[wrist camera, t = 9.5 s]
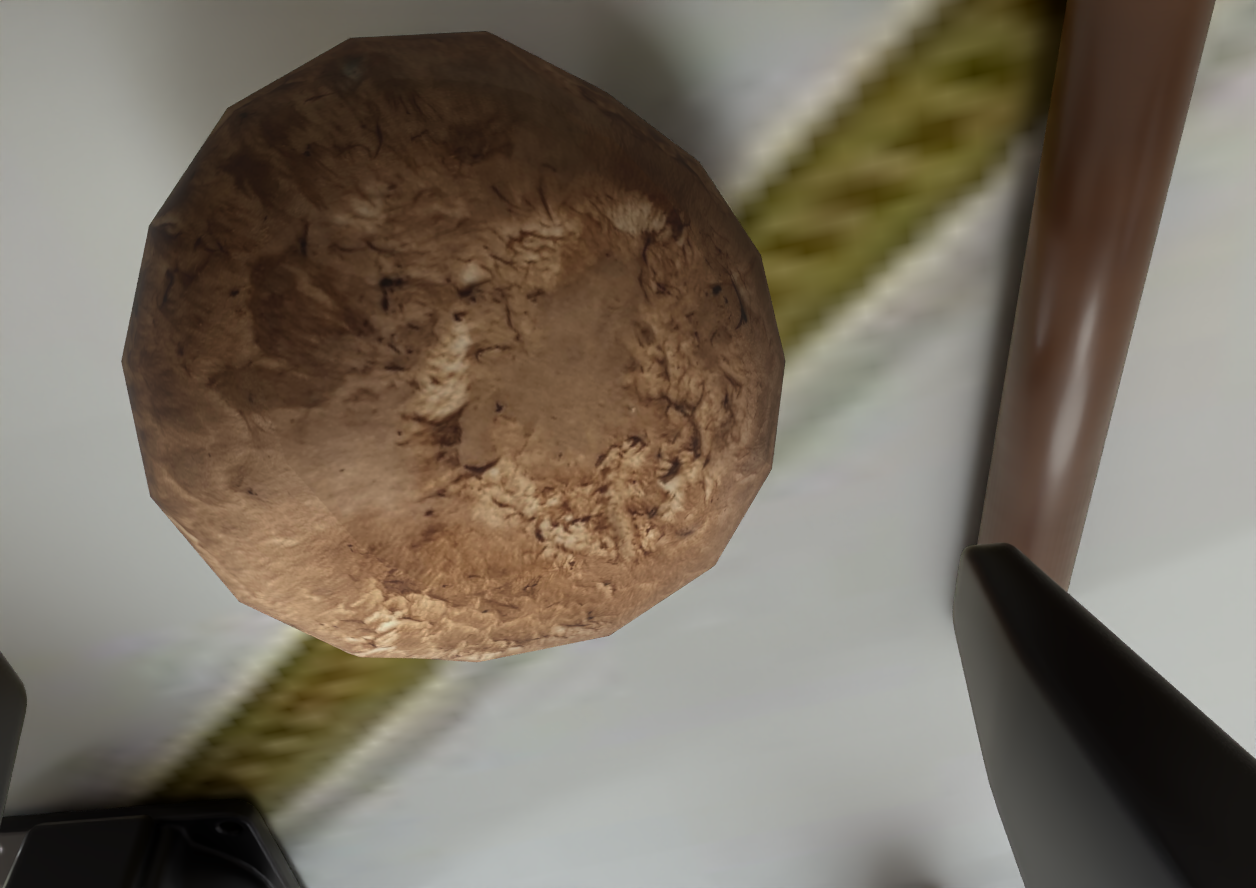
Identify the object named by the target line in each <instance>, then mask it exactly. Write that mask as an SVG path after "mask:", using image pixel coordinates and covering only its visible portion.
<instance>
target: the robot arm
mask: <svg viewBox="0 0 1256 888" xmlns="http://www.w3.org/2000/svg"><path fill="white" fill-rule="evenodd" d="M953 623H954V630H955V635H956V640H957V644H958V648H959V653H960V657H961V662H962V666H963V671H964V675H965V680H966V684H967V689H968V693H969V697H970V702H971V706H972V711H973V715H974V720H975V724H976V729H977V733H978V737H979V742H980V746H981V751H982V755H983V760H984V764H985V768H986V772H987V776H988V780H989V784H990V787H991V790H992V793H993V796H994V800H995V803H996V806H997V809H998V812H999V815H1000V817H1001V820H1002V823H1003V826H1004V829H1005V832H1006V834H1007V837H1008V840H1009V843H1010V846H1011V849H1012V851H1013V854H1014V857H1015V860H1016V863H1017V866H1018V868H1019V871H1020V874H1021V877H1022V880H1023V882H1024V885H1025V888H1256V759H1255V758H1254V757H1253V756H1252V755H1250V754H1249V753H1248V752H1247V751H1246V750H1245V749H1244V748H1242V747H1241V746H1240V745H1239V744H1238V743H1237V742H1236V741H1235V740H1233V739H1232V738H1231V737H1230V736H1229V735H1228V734H1227V733H1226V732H1224V731H1223V730H1222V729H1221V728H1220V727H1219V726H1218V725H1217V724H1215V723H1214V722H1213V721H1212V720H1211V719H1210V718H1209V717H1207V716H1206V715H1205V714H1204V713H1203V712H1202V711H1201V710H1200V709H1198V708H1197V707H1196V706H1195V705H1194V704H1193V703H1192V702H1191V701H1189V700H1188V699H1187V698H1186V697H1185V696H1184V695H1183V694H1181V693H1180V692H1179V691H1178V690H1177V689H1176V688H1175V687H1174V686H1172V685H1171V684H1170V683H1169V682H1168V681H1167V680H1166V679H1165V678H1163V677H1162V676H1161V675H1160V674H1159V673H1158V672H1157V671H1155V670H1154V669H1153V668H1152V667H1151V666H1150V665H1149V664H1148V663H1146V662H1145V661H1144V660H1143V659H1142V658H1141V657H1140V656H1139V655H1137V654H1136V653H1135V652H1134V651H1133V650H1132V649H1131V648H1130V647H1128V646H1127V645H1126V644H1125V643H1124V642H1123V641H1122V640H1120V639H1119V638H1118V637H1117V636H1116V635H1115V634H1114V633H1113V632H1111V631H1110V630H1109V629H1108V628H1107V627H1106V626H1105V625H1104V624H1102V623H1101V622H1100V621H1099V620H1098V619H1097V618H1096V617H1094V616H1093V615H1092V614H1091V613H1090V612H1089V611H1088V610H1087V609H1085V608H1084V607H1083V606H1082V605H1081V604H1080V603H1079V602H1078V601H1076V600H1075V599H1074V598H1073V597H1072V596H1071V595H1070V594H1068V593H1067V592H1066V591H1065V590H1064V589H1063V588H1062V587H1061V586H1059V585H1058V584H1057V583H1056V582H1055V581H1054V580H1053V579H1052V578H1050V577H1049V576H1048V575H1047V574H1046V573H1045V572H1044V571H1043V570H1041V569H1040V568H1039V567H1038V566H1037V565H1036V564H1035V563H1033V562H1032V561H1031V560H1030V559H1029V558H1028V557H1027V556H1026V555H1024V554H1023V553H1022V552H1021V551H1020V550H1019V549H1018V548H1016V547H1015V546H1013V545H1011V544H1009V543H992V544H980V545H970V546H968V547H966V548H965V549H964V550H963V552H962V554H961V557H960V563H959V569H958V576H957V583H956V589H955V596H954V602H953ZM26 706H27V697H26V690H25V687H24V684H23V682H22V681H21V679H20V678H19V676H18V675H17V673H16V672H15V671H14V669H13V668H12V666H11V665H10V664H9V662H8V661H7V660H6V658H5V657H4V655H3V654H2V653H1V651H0V888H301V887H300V885H299V883H298V882H297V880H296V878H295V876H294V874H293V873H292V871H291V869H290V867H289V866H288V864H287V862H286V860H285V858H284V857H283V855H282V853H281V851H280V849H279V848H278V846H277V844H276V842H275V841H274V839H273V837H272V835H271V833H270V832H269V830H268V828H267V826H266V824H265V823H264V821H263V819H262V817H261V816H260V814H259V812H258V810H257V809H256V808H255V807H254V806H253V805H251V804H249V803H247V802H245V801H241V800H235V799H225V800H212V801H200V802H187V803H175V804H162V805H149V806H137V807H124V808H112V809H99V810H86V811H74V812H61V813H48V814H36V815H23V816H11V817H2V816H3V812H4V807H5V803H6V798H7V794H8V789H9V785H10V780H11V776H12V771H13V767H14V762H15V758H16V753H17V749H18V745H19V740H20V736H21V731H22V727H23V722H24V718H25V713H26Z"/></svg>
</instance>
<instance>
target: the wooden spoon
mask: <svg viewBox="0 0 1256 888" xmlns="http://www.w3.org/2000/svg"><path fill="white" fill-rule="evenodd" d="M1215 1H1216V0H1067V4H1066V10H1065V16H1064V22H1063V28H1062V34H1061V40H1060V47H1059V53H1058V59H1057V65H1056V71H1055V77H1054V83H1053V89H1052V95H1051V101H1050V107H1049V113H1048V119H1047V125H1046V131H1045V137H1044V143H1043V149H1042V156H1041V162H1040V168H1039V174H1038V180H1037V186H1036V192H1035V198H1034V204H1033V210H1032V216H1031V222H1030V228H1029V234H1028V240H1027V246H1026V252H1025V258H1024V265H1023V271H1022V277H1021V283H1020V289H1019V295H1018V301H1017V307H1016V313H1015V319H1014V325H1013V331H1012V337H1011V343H1010V349H1009V355H1008V361H1007V367H1006V373H1005V380H1004V386H1003V392H1002V398H1001V404H1000V410H999V416H998V422H997V428H996V434H995V440H994V446H993V452H992V458H991V464H990V470H989V476H988V482H987V489H986V495H985V501H984V507H983V513H982V519H981V525H980V531H979V537H978V543H977V545H980V544H992V543H1009V544H1011V545H1013V546H1015V547H1016V548H1018V549H1019V550H1020V551H1021V552H1022V553H1023V554H1024V555H1026V556H1027V557H1028V558H1029V559H1030V560H1031V561H1032V562H1033V563H1035V564H1036V565H1037V566H1038V567H1039V568H1040V569H1041V570H1043V571H1044V572H1045V573H1046V574H1047V575H1048V576H1049V577H1050V578H1052V579H1053V580H1054V581H1055V582H1056V583H1057V584H1058V585H1059V586H1061V587H1062V588H1063V589H1064V590H1065V591H1066V592H1068V588H1069V584H1070V580H1071V576H1072V572H1073V568H1074V564H1075V560H1076V556H1077V552H1078V548H1079V544H1080V540H1081V536H1082V532H1083V528H1084V524H1085V520H1086V516H1087V512H1088V508H1089V504H1090V500H1091V496H1092V492H1093V488H1094V484H1095V480H1096V476H1097V472H1098V468H1099V464H1100V460H1101V456H1102V452H1103V448H1104V444H1105V440H1106V436H1107V432H1108V428H1109V424H1110V420H1111V416H1112V412H1113V408H1114V404H1115V400H1116V396H1117V392H1118V388H1119V384H1120V380H1121V376H1122V372H1123V368H1124V364H1125V360H1126V356H1127V352H1128V348H1129V344H1130V340H1131V336H1132V332H1133V328H1134V324H1135V320H1136V316H1137V312H1138V308H1139V304H1140V300H1141V296H1142V292H1143V288H1144V284H1145V280H1146V276H1147V272H1148V268H1149V264H1150V260H1151V256H1152V252H1153V248H1154V244H1155V240H1156V236H1157V232H1158V228H1159V224H1160V220H1161V216H1162V212H1163V208H1164V204H1165V200H1166V196H1167V192H1168V188H1169V184H1170V180H1171V176H1172V172H1173V168H1174V164H1175V160H1176V156H1177V152H1178V148H1179V144H1180V140H1181V136H1182V132H1183V128H1184V124H1185V120H1186V116H1187V112H1188V108H1189V104H1190V100H1191V96H1192V92H1193V88H1194V84H1195V80H1196V76H1197V72H1198V68H1199V64H1200V60H1201V56H1202V52H1203V48H1204V44H1205V40H1206V36H1207V32H1208V28H1209V25H1210V21H1211V17H1212V13H1213V9H1214V5H1215Z"/></svg>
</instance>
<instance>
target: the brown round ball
mask: <svg viewBox="0 0 1256 888" xmlns="http://www.w3.org/2000/svg"><path fill="white" fill-rule="evenodd" d="M121 362H122V367H123V371H124V376H125V381H126V385H127V390H128V395H129V399H130V404H131V409H132V413H133V418H134V423H135V427H136V432H137V437H138V441H139V446H140V450H141V455H142V460H143V464H144V469H145V474H146V478H147V483H148V488H149V492H150V497H151V498H152V499H153V500H154V501H155V503H156V504H157V505H158V506H159V507H160V508H161V510H162V511H163V512H164V513H165V514H166V516H167V517H168V518H169V519H170V520H171V521H172V523H173V524H174V525H175V526H176V527H177V529H178V530H179V531H180V532H181V533H182V534H183V536H184V537H185V538H186V539H187V540H188V542H189V543H190V544H191V545H192V546H193V547H194V549H195V550H196V551H197V552H198V553H199V555H200V556H201V557H202V558H203V559H204V560H205V562H206V563H207V564H208V565H209V566H210V568H211V569H212V570H213V571H214V572H215V573H216V575H217V576H218V577H219V578H220V579H221V581H222V582H223V583H224V584H225V585H226V586H227V588H228V589H229V590H230V591H231V592H232V594H233V595H234V596H235V597H236V598H237V599H238V601H239V602H241V603H243V604H245V605H247V606H250V607H252V608H254V609H256V610H258V611H260V612H262V613H264V614H267V615H269V616H271V617H273V618H275V619H277V620H279V621H281V622H284V623H286V624H288V625H290V626H292V627H294V628H296V629H298V630H301V631H303V632H305V633H307V634H309V635H311V636H313V637H315V638H318V639H320V640H322V641H324V642H326V643H328V644H330V645H332V646H335V647H337V648H339V649H341V650H343V651H345V652H347V653H350V654H353V655H356V656H359V657H383V658H424V659H439V660H453V661H468V662H481V661H486V660H491V659H496V658H500V657H505V656H510V655H515V654H520V653H525V652H530V651H535V650H540V649H545V648H550V647H555V646H560V645H565V644H570V643H575V642H580V641H585V640H590V639H595V638H600V637H605V636H609V635H611V634H612V633H614V632H615V631H617V630H618V629H620V628H621V627H623V626H624V625H626V624H627V623H629V622H630V621H632V620H633V619H635V618H636V617H638V616H640V615H641V614H643V613H644V612H646V611H647V610H649V609H650V608H652V607H653V606H655V605H656V604H658V603H659V602H661V601H662V600H664V599H665V598H667V597H668V596H670V595H671V594H673V593H674V592H676V591H677V590H679V589H680V588H682V587H683V586H685V585H686V584H688V583H689V582H691V581H692V580H694V579H695V578H697V577H698V576H700V575H701V574H703V573H704V572H706V571H707V570H709V569H710V568H712V567H713V566H714V565H715V564H716V562H717V561H718V559H719V557H720V556H721V554H722V552H723V551H724V549H725V547H726V545H727V544H728V542H729V540H730V539H731V537H732V535H733V534H734V532H735V530H736V529H737V527H738V525H739V524H740V522H741V520H742V518H743V517H744V515H745V513H746V512H747V510H748V508H749V507H750V505H751V503H752V502H753V500H754V498H755V496H756V495H757V493H758V491H759V490H760V488H761V486H762V485H763V483H764V481H765V480H766V478H767V476H768V474H769V473H770V471H771V469H772V463H773V455H774V447H775V439H776V431H777V423H778V415H779V407H780V399H781V391H782V383H783V375H784V367H785V358H784V353H783V349H782V345H781V340H780V336H779V332H778V327H777V323H776V319H775V314H774V310H773V306H772V301H771V297H770V293H769V288H768V284H767V280H766V276H765V271H764V267H763V263H762V258H761V255H760V253H759V252H758V250H757V248H756V247H755V245H754V244H753V242H752V241H751V239H750V238H749V236H748V235H747V233H746V232H745V230H744V229H743V227H742V226H741V224H740V223H739V221H738V220H737V218H736V217H735V215H734V214H733V212H732V211H731V209H730V208H729V206H728V204H727V203H726V201H725V200H724V198H723V197H722V195H721V194H720V192H719V191H718V189H717V188H716V186H715V185H714V183H713V182H712V180H711V179H710V177H709V176H708V174H707V173H706V171H705V170H704V168H703V167H702V165H701V163H700V162H699V161H698V160H696V159H695V158H694V157H692V156H691V155H690V154H688V153H687V152H686V151H684V150H683V149H682V148H680V147H679V146H678V145H676V144H675V143H674V142H672V141H671V140H670V139H668V138H667V137H666V136H664V135H663V134H662V133H660V132H659V131H658V130H656V129H655V128H654V127H652V126H651V125H650V124H648V123H647V122H646V121H644V120H643V119H642V118H640V117H639V116H638V115H636V114H635V113H634V112H632V111H631V110H630V109H628V108H627V107H626V106H624V105H623V104H622V103H620V102H619V101H618V100H616V99H615V98H614V97H612V96H611V95H610V94H608V93H607V92H605V91H603V90H602V89H600V88H598V87H596V86H594V85H592V84H590V83H588V82H586V81H584V80H582V79H580V78H578V77H576V76H574V75H572V74H570V73H568V72H566V71H564V70H562V69H560V68H558V67H556V66H554V65H552V64H550V63H549V62H547V61H545V60H543V59H541V58H539V57H537V56H535V55H533V54H531V53H529V52H527V51H525V50H523V49H521V48H519V47H517V46H515V45H514V44H512V43H510V42H508V41H506V40H504V39H502V38H500V37H498V36H496V35H494V34H491V33H489V32H486V31H479V32H459V33H439V34H419V35H399V36H379V37H359V38H349V39H347V40H346V41H344V42H342V43H340V44H339V45H337V46H335V47H333V48H332V49H330V50H328V51H326V52H325V53H323V54H321V55H319V56H318V57H316V58H314V59H312V60H311V61H309V62H307V63H305V64H304V65H302V66H300V67H298V68H297V69H295V70H293V71H291V72H290V73H288V74H286V75H284V76H283V77H281V78H279V79H277V80H276V81H274V82H272V83H270V84H269V85H267V86H265V87H263V88H262V89H260V90H258V91H256V92H255V93H253V94H251V95H249V96H248V97H246V98H244V99H242V100H241V101H239V102H237V103H235V104H234V105H232V106H230V107H228V108H227V110H226V111H225V113H224V114H223V116H222V117H221V119H220V120H219V122H218V123H217V125H216V126H215V128H214V129H213V131H212V132H211V134H210V135H209V137H208V138H207V140H206V141H205V143H204V144H203V146H202V147H201V149H200V150H199V152H198V153H197V155H196V156H195V158H194V159H193V161H192V162H191V164H190V165H189V167H188V168H187V170H186V171H185V173H184V174H183V176H182V177H181V179H180V180H179V182H178V183H177V185H176V186H175V188H174V189H173V191H172V192H171V194H170V195H169V197H168V198H167V200H166V201H165V203H164V204H163V206H162V207H161V209H160V210H159V212H158V213H157V215H156V216H155V218H154V219H153V221H152V222H151V224H150V225H149V229H148V234H147V239H146V244H145V248H144V253H143V258H142V263H141V268H140V273H139V278H138V283H137V288H136V292H135V297H134V302H133V307H132V312H131V317H130V322H129V327H128V331H127V336H126V341H125V346H124V351H123V356H122V361H121Z"/></svg>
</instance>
